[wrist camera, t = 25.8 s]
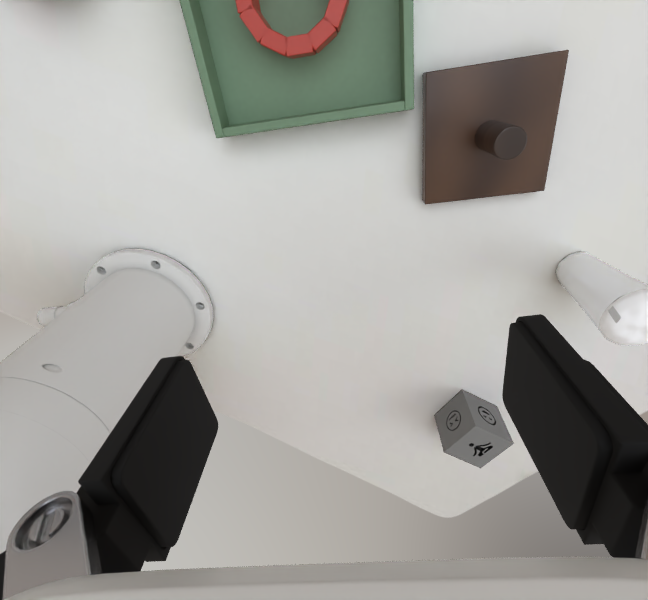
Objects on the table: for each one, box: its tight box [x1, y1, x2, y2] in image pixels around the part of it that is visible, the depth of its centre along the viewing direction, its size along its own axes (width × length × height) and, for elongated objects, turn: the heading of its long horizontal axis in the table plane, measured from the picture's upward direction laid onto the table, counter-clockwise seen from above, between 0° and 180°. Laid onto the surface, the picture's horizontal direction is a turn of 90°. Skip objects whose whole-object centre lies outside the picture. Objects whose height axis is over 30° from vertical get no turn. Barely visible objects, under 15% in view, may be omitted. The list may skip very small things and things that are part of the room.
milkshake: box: [555, 252, 648, 346], centre depth 27 cm, size 4×5×10 cm
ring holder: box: [422, 50, 569, 204], centre depth 24 cm, size 9×9×5 cm
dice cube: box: [434, 390, 514, 468], centre depth 40 cm, size 5×5×5 cm
